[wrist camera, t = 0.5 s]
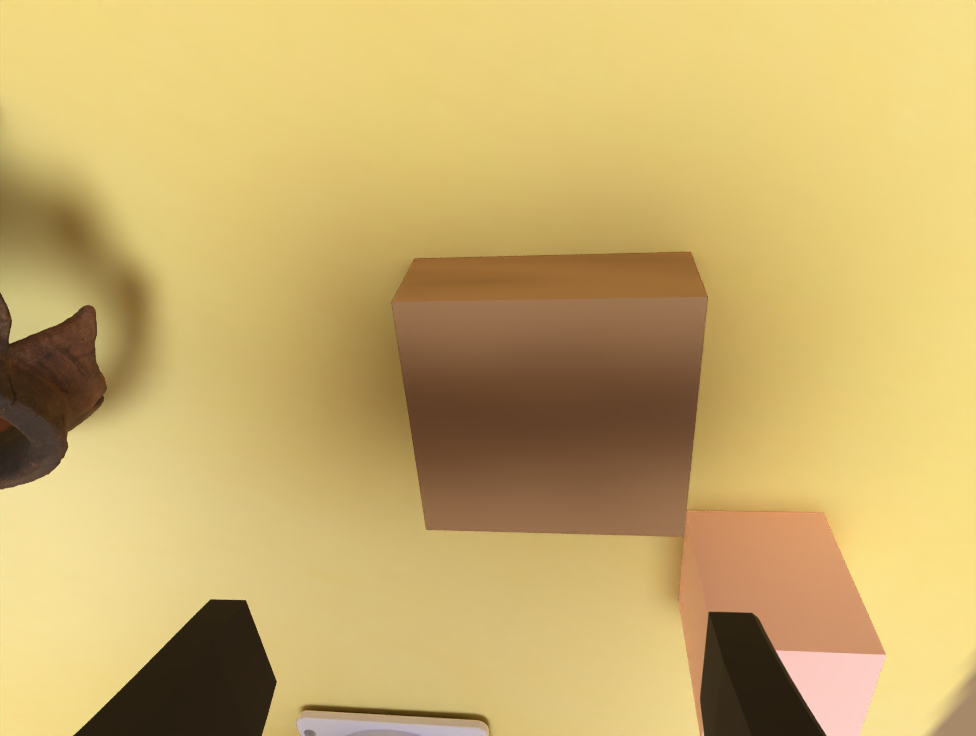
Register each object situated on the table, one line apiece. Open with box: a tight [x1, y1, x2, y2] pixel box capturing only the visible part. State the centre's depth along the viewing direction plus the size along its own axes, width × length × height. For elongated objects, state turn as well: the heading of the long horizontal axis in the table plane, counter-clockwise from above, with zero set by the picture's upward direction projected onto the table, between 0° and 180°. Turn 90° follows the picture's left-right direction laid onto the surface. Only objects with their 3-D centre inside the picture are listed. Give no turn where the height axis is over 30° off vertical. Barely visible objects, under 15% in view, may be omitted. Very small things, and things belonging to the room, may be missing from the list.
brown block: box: [392, 252, 708, 537], centre depth 18 cm, size 7×7×3 cm
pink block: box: [678, 510, 886, 736], centre depth 20 cm, size 4×4×5 cm
